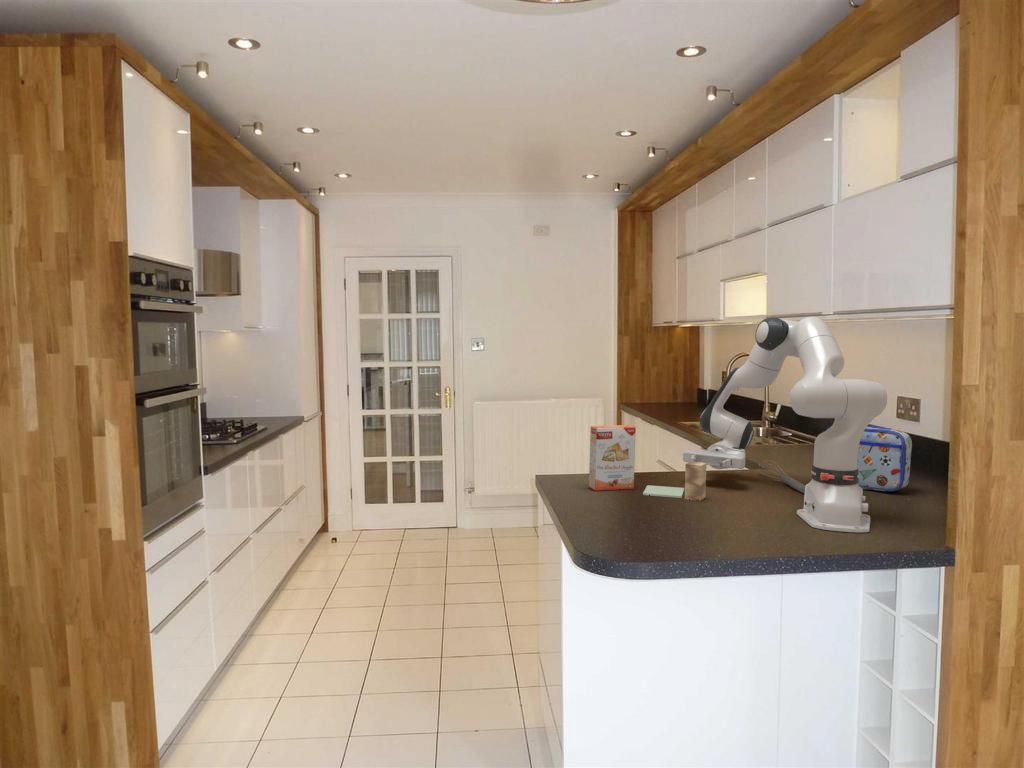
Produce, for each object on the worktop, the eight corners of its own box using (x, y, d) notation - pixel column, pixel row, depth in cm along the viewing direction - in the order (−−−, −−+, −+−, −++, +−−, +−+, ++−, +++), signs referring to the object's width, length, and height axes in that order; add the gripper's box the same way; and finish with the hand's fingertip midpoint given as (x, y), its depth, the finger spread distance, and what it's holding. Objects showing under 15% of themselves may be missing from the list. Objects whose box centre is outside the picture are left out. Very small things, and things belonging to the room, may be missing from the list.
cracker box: (595, 491, 221) (596, 427, 219) (588, 487, 227) (589, 425, 225) (634, 489, 224) (636, 426, 223) (627, 485, 230) (628, 424, 229)
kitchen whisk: (801, 497, 216) (802, 477, 216) (754, 475, 250) (755, 458, 249) (820, 496, 217) (820, 477, 216) (770, 475, 250) (771, 458, 250)
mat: (681, 498, 213) (681, 496, 213) (642, 495, 216) (642, 493, 216) (684, 489, 224) (684, 487, 224) (647, 487, 228) (647, 485, 228)
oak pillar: (705, 497, 213) (706, 463, 212) (700, 501, 209) (701, 465, 208) (689, 495, 216) (690, 461, 215) (684, 498, 212) (685, 464, 211)
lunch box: (814, 482, 236) (817, 419, 235) (827, 478, 243) (829, 417, 242) (902, 496, 216) (905, 428, 215) (912, 491, 223) (916, 425, 222)
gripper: (690, 443, 239) (676, 449, 228) (749, 449, 228) (739, 456, 217) (689, 461, 240) (676, 468, 228) (749, 468, 229) (738, 476, 217)
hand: (707, 462), depth 223 cm, fingers open, 8 cm apart
